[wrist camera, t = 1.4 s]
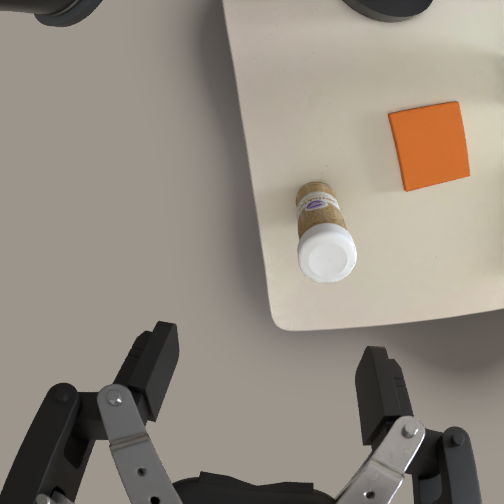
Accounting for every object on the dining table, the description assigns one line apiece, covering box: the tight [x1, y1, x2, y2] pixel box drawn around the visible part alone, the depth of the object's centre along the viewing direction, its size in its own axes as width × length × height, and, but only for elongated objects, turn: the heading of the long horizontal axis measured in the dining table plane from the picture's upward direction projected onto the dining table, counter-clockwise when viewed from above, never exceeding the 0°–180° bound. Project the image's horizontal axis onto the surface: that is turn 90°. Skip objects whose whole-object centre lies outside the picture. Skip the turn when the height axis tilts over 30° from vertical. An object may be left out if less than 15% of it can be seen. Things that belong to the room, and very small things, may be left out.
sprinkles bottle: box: [296, 182, 357, 283], centre depth 29 cm, size 5×5×13 cm
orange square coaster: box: [388, 101, 470, 192], centre depth 30 cm, size 9×9×1 cm
